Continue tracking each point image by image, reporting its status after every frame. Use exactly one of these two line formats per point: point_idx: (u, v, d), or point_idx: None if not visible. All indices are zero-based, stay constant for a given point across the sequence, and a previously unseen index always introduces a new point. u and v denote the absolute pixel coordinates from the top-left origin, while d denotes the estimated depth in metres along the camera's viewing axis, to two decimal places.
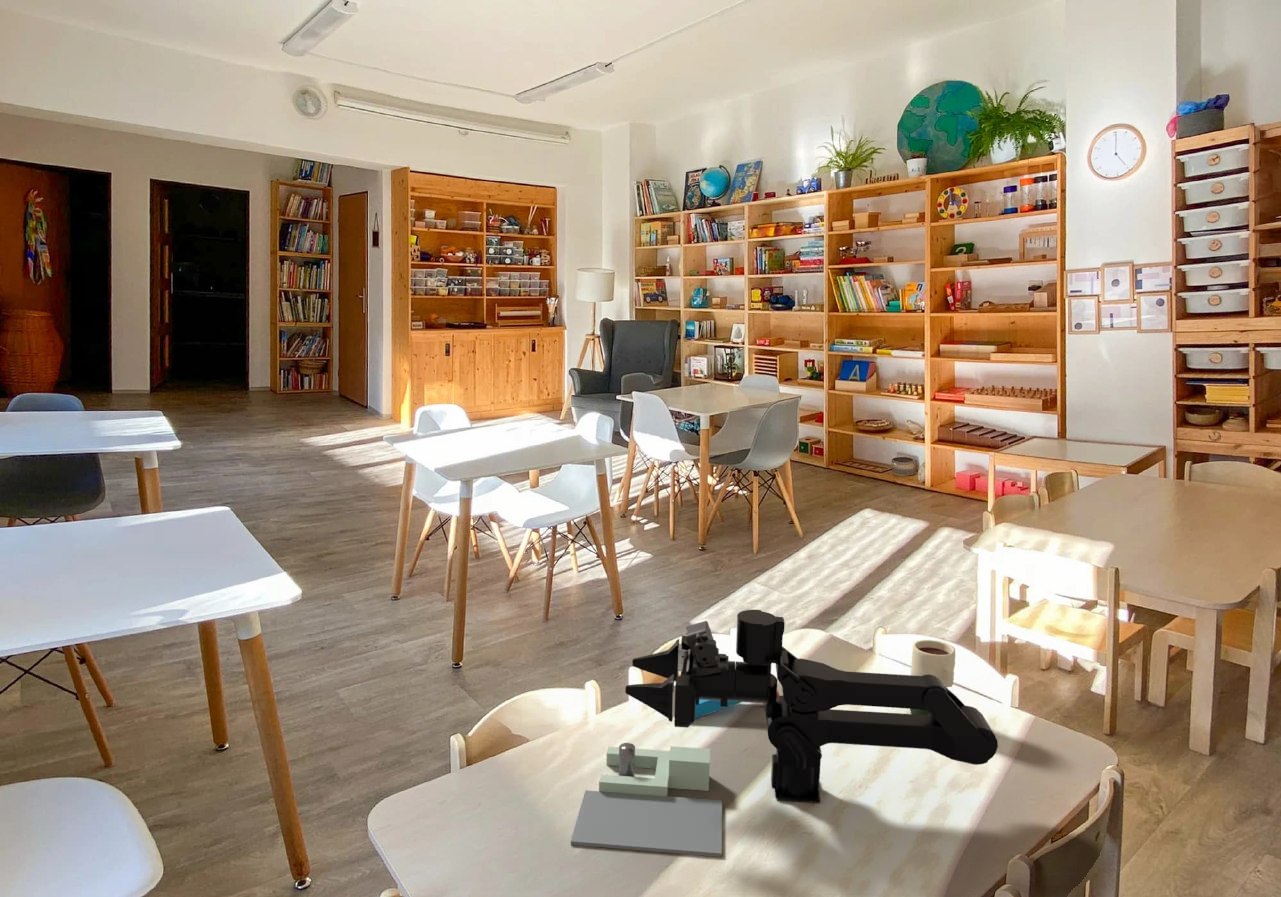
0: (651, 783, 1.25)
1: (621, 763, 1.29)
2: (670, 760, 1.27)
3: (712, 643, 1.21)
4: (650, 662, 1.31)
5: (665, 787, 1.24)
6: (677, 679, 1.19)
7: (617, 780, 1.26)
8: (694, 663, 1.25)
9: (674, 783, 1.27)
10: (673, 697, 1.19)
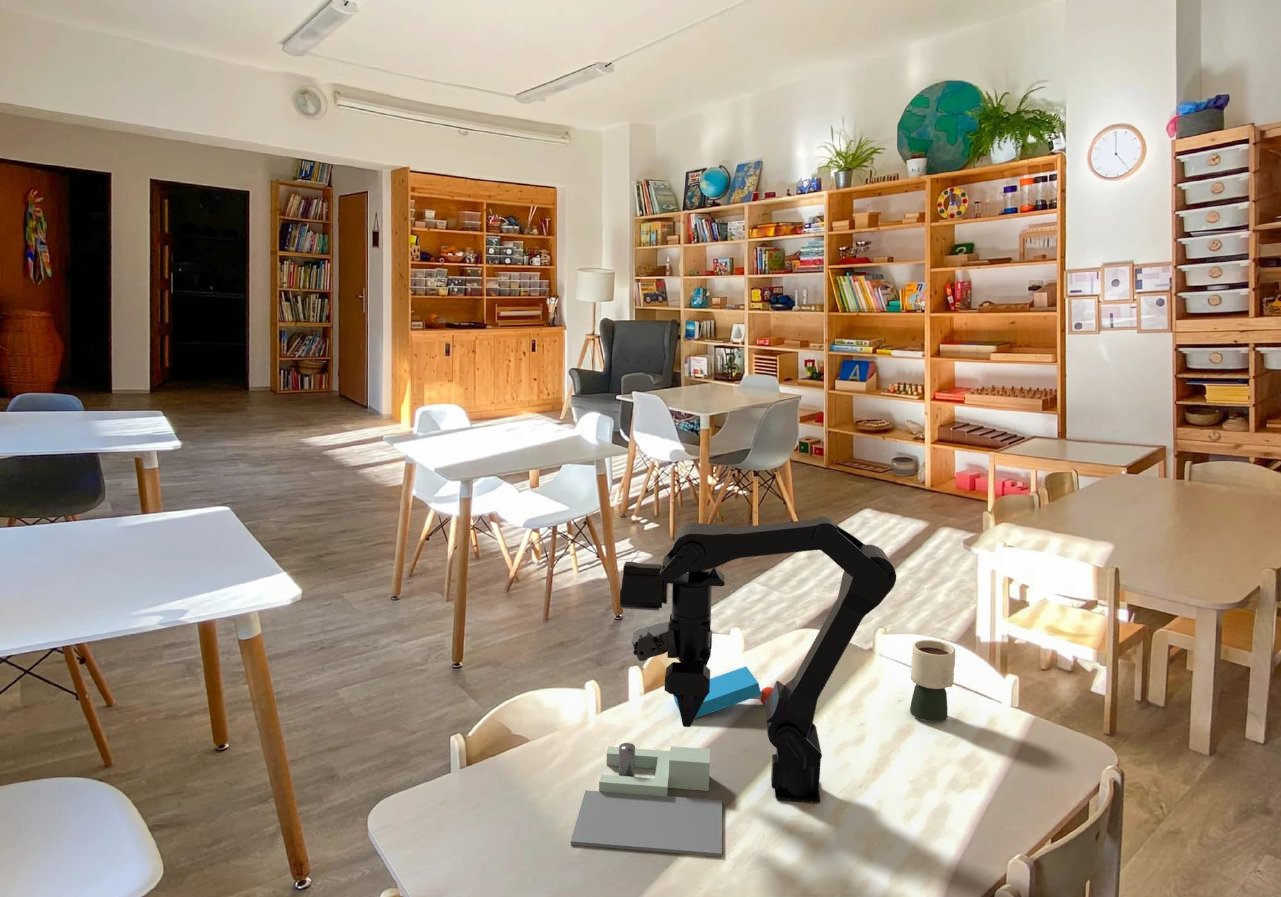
0: (651, 783, 1.25)
1: (621, 763, 1.29)
2: (670, 760, 1.27)
3: (638, 640, 1.22)
4: None
5: (665, 787, 1.24)
6: None
7: (617, 780, 1.26)
8: None
9: (674, 783, 1.27)
10: None
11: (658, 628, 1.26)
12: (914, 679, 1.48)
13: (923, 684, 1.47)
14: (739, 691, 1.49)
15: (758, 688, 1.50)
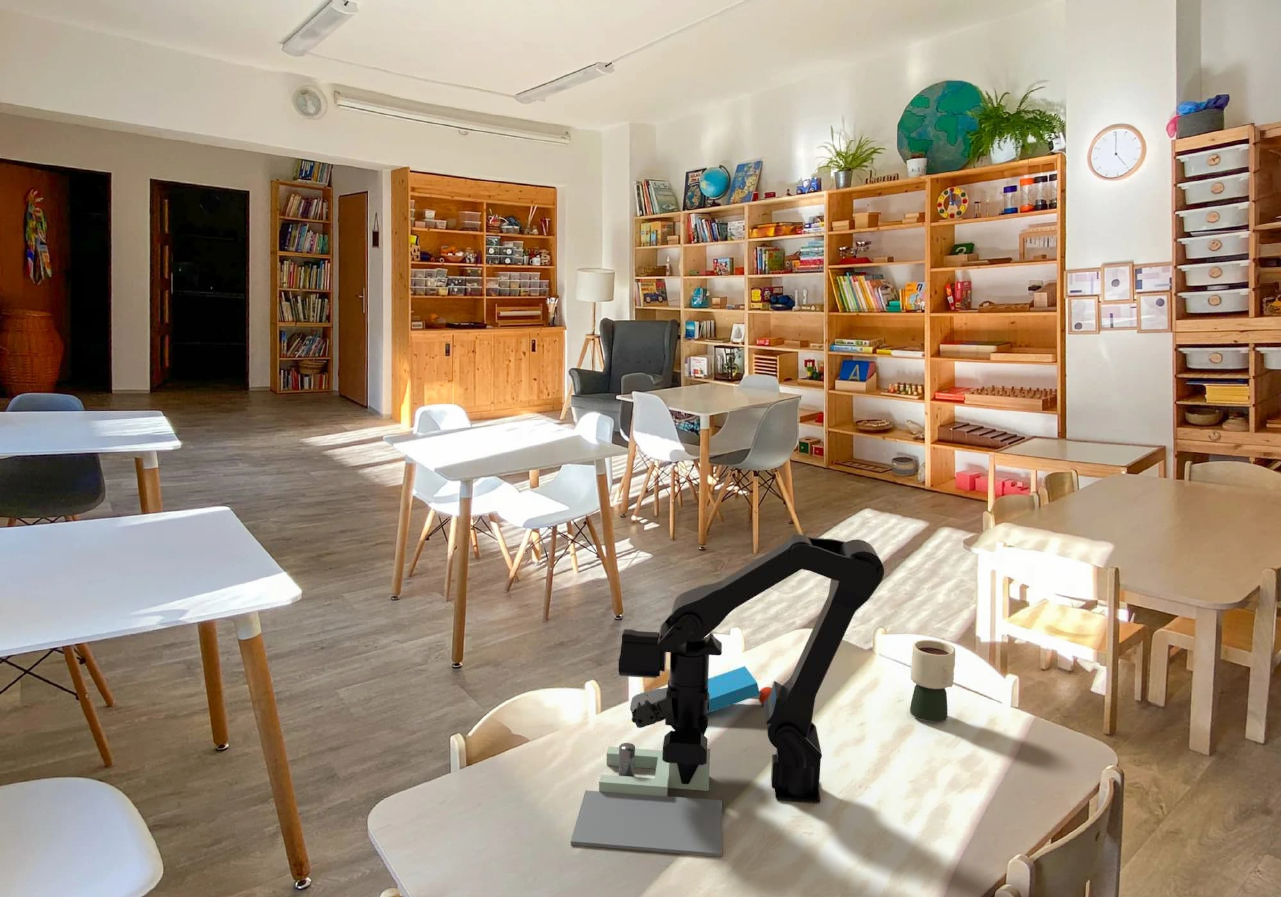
0: (651, 783, 1.25)
1: (621, 763, 1.29)
2: None
3: (636, 709, 1.24)
4: None
5: (665, 787, 1.24)
6: None
7: (617, 780, 1.26)
8: None
9: (674, 783, 1.27)
10: None
11: (656, 694, 1.28)
12: (914, 679, 1.48)
13: (923, 684, 1.47)
14: (738, 691, 1.49)
15: (757, 688, 1.50)
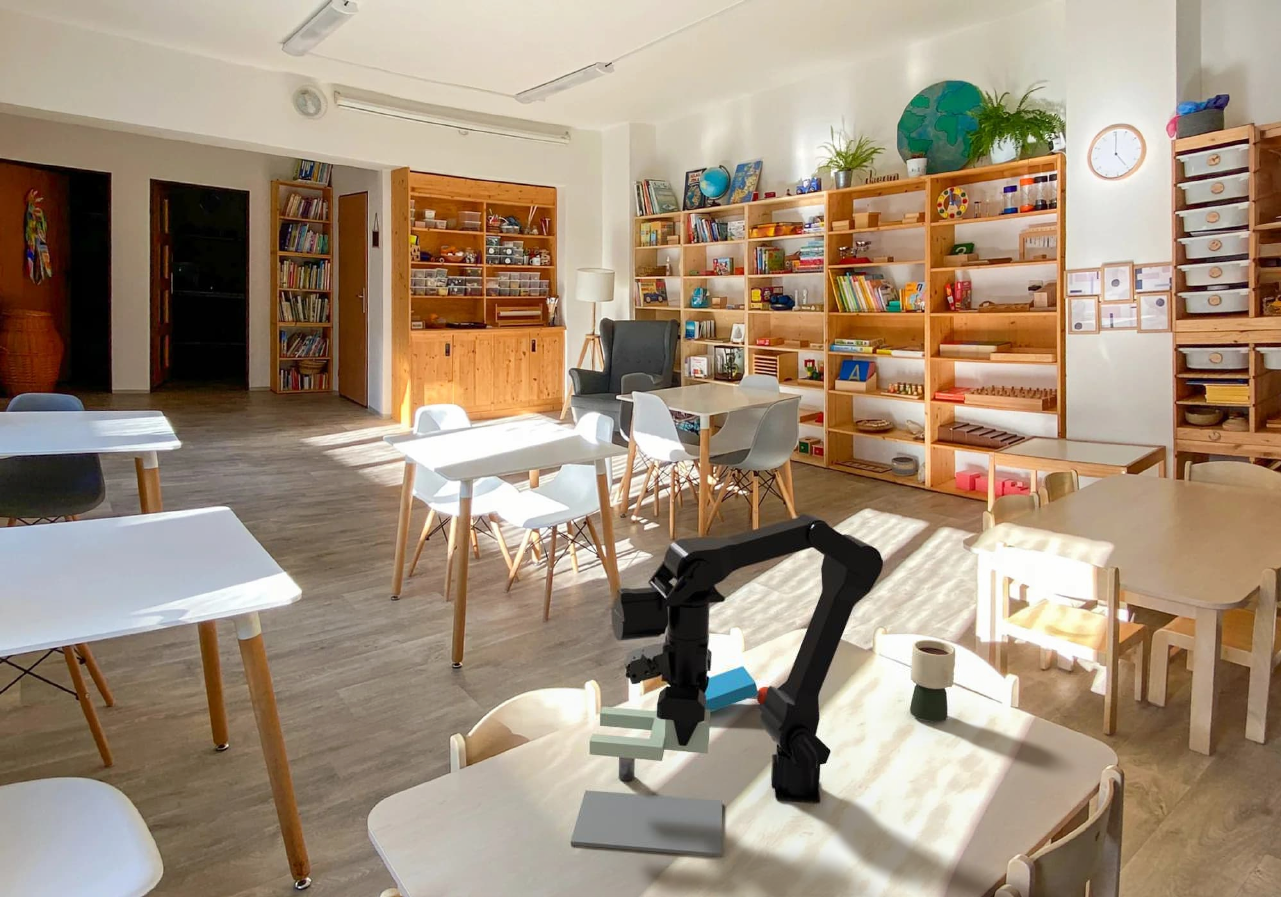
0: (646, 743, 1.17)
1: (621, 763, 1.29)
2: (666, 720, 1.18)
3: (630, 663, 1.15)
4: None
5: (660, 748, 1.16)
6: None
7: (609, 740, 1.17)
8: None
9: (671, 744, 1.19)
10: None
11: (653, 649, 1.19)
12: (914, 679, 1.48)
13: (923, 684, 1.47)
14: (736, 691, 1.49)
15: (755, 688, 1.50)
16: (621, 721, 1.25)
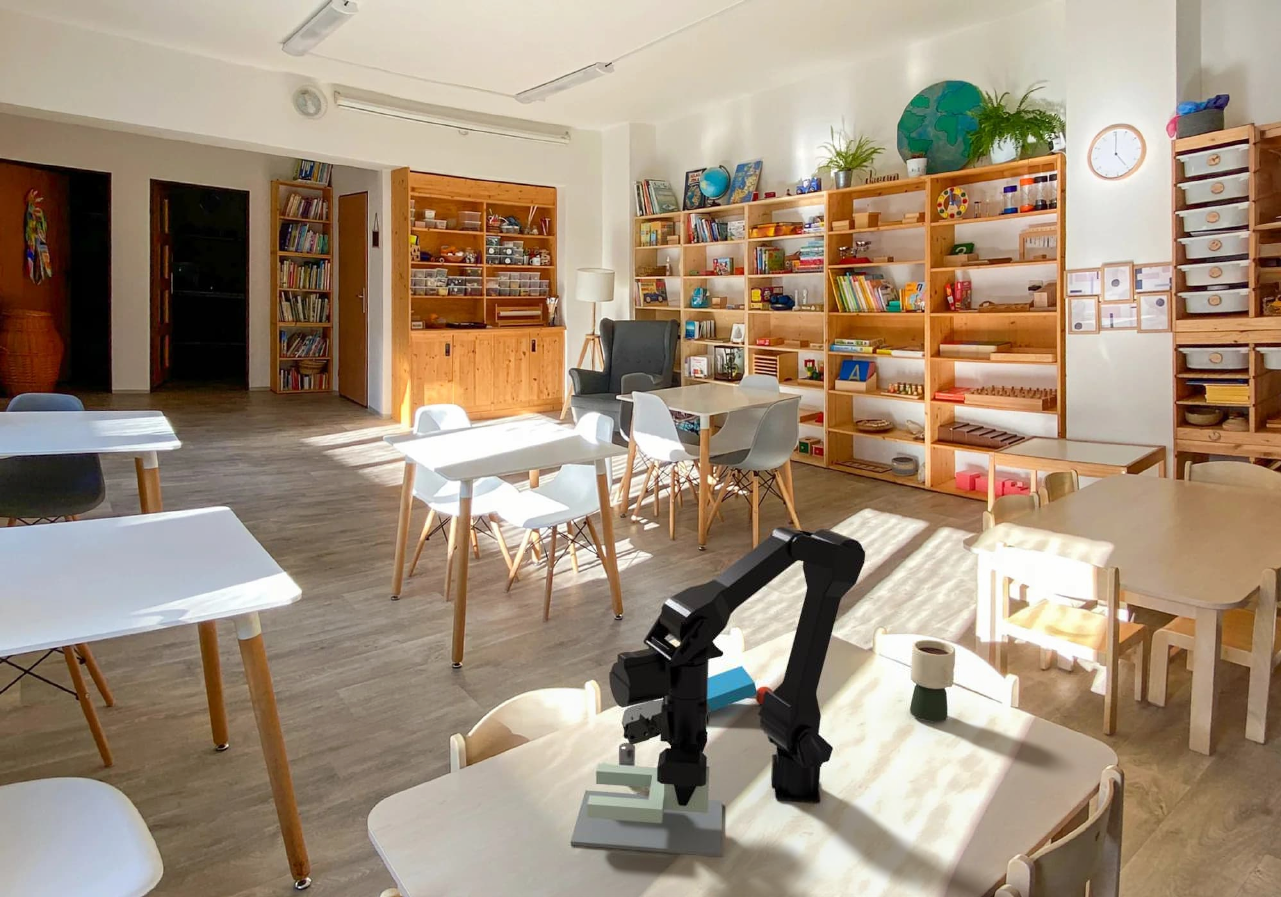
0: (645, 805, 1.14)
1: (621, 763, 1.29)
2: None
3: (628, 724, 1.12)
4: None
5: (660, 810, 1.13)
6: None
7: (607, 802, 1.14)
8: None
9: (670, 804, 1.16)
10: None
11: (650, 707, 1.16)
12: (914, 679, 1.48)
13: (923, 684, 1.47)
14: (735, 691, 1.49)
15: (754, 687, 1.50)
16: (618, 779, 1.22)
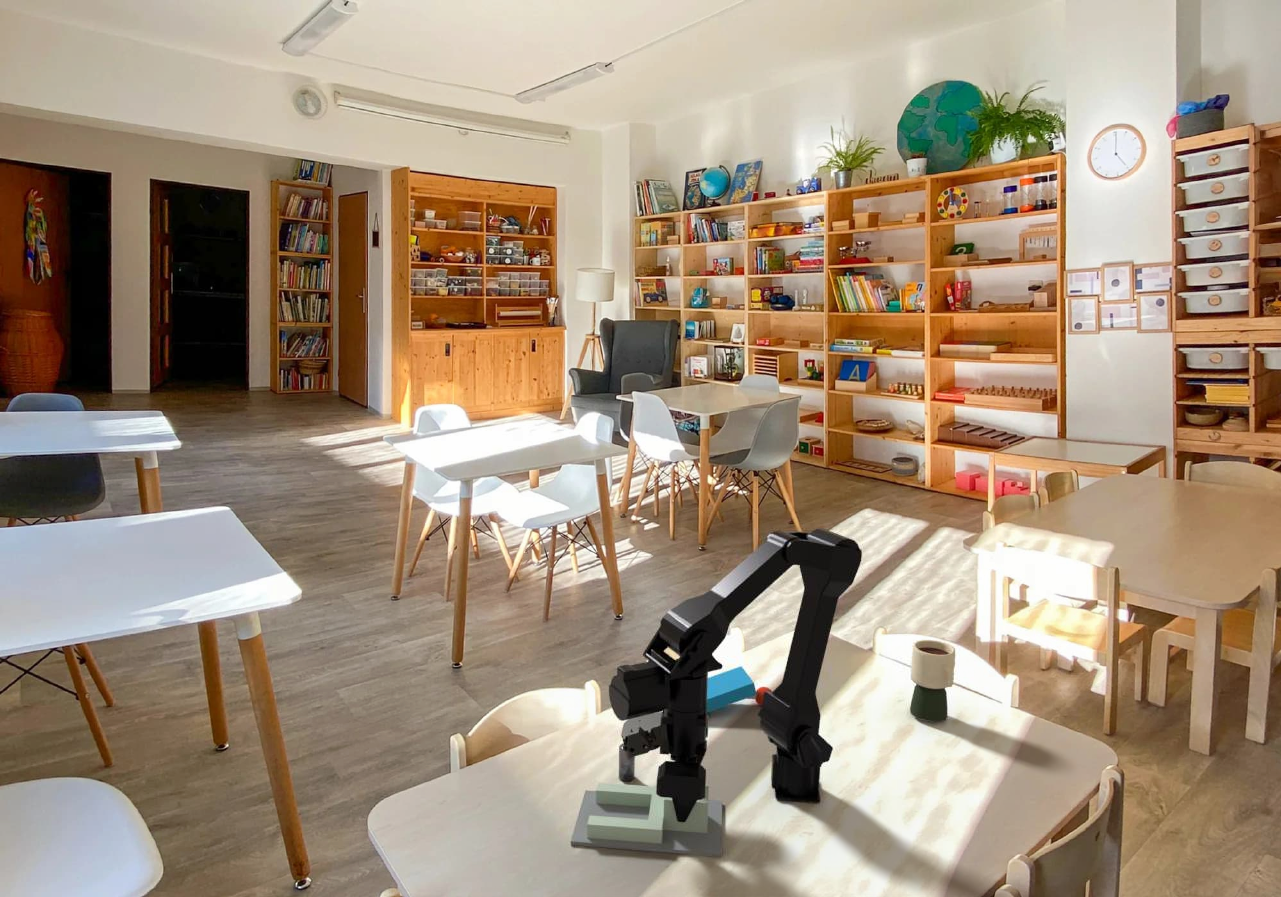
0: (644, 825, 1.14)
1: (621, 763, 1.29)
2: (665, 800, 1.16)
3: (628, 736, 1.13)
4: None
5: (659, 830, 1.13)
6: None
7: (607, 822, 1.15)
8: None
9: (669, 825, 1.16)
10: None
11: (650, 720, 1.17)
12: (914, 679, 1.48)
13: (923, 684, 1.47)
14: (735, 691, 1.49)
15: (753, 688, 1.50)
16: (618, 798, 1.22)
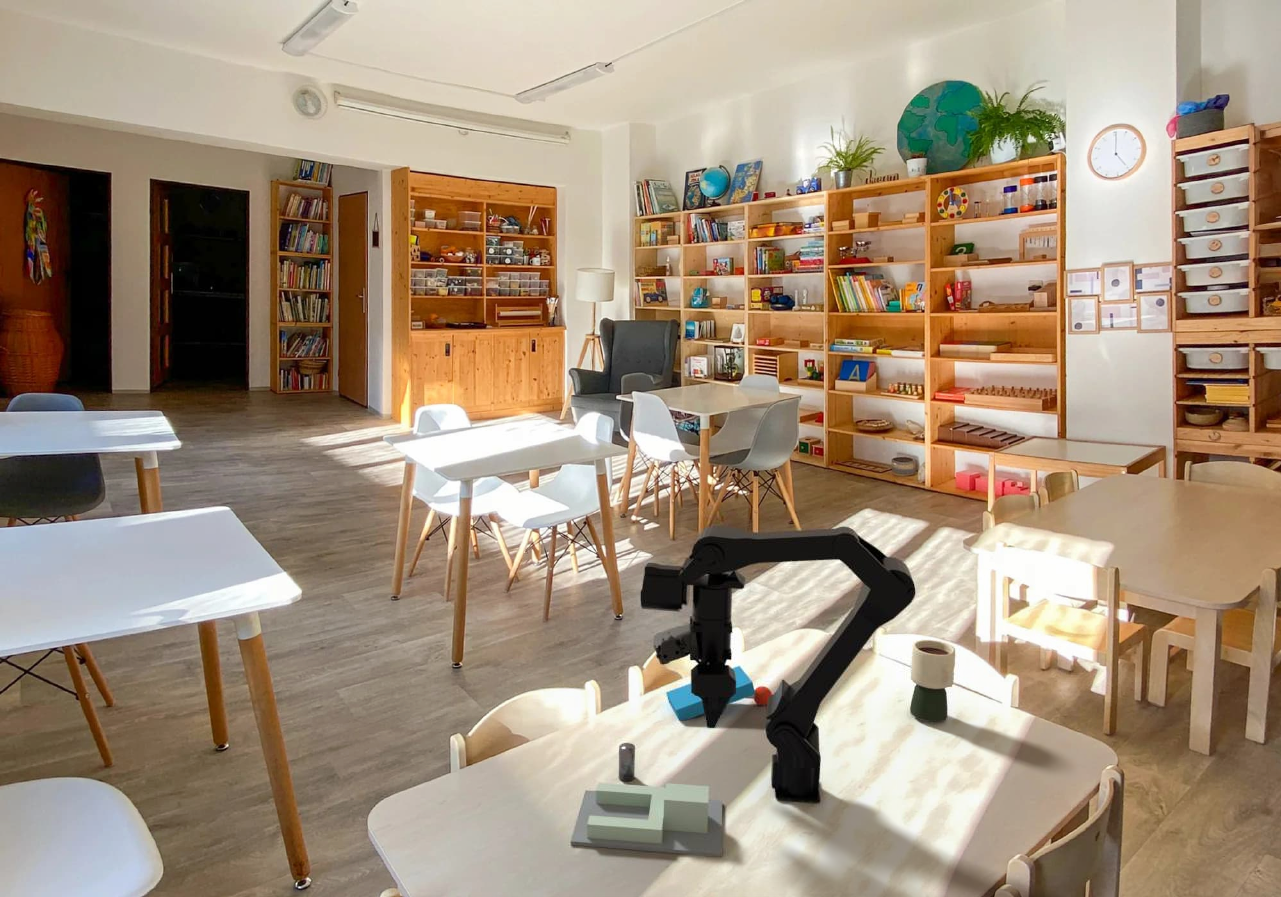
0: (644, 825, 1.14)
1: (621, 763, 1.29)
2: (665, 800, 1.16)
3: (661, 644, 1.22)
4: None
5: (659, 830, 1.13)
6: None
7: (607, 822, 1.15)
8: None
9: (669, 825, 1.16)
10: None
11: (679, 631, 1.26)
12: (914, 679, 1.48)
13: (923, 684, 1.47)
14: None
15: (752, 687, 1.50)
16: (618, 798, 1.22)
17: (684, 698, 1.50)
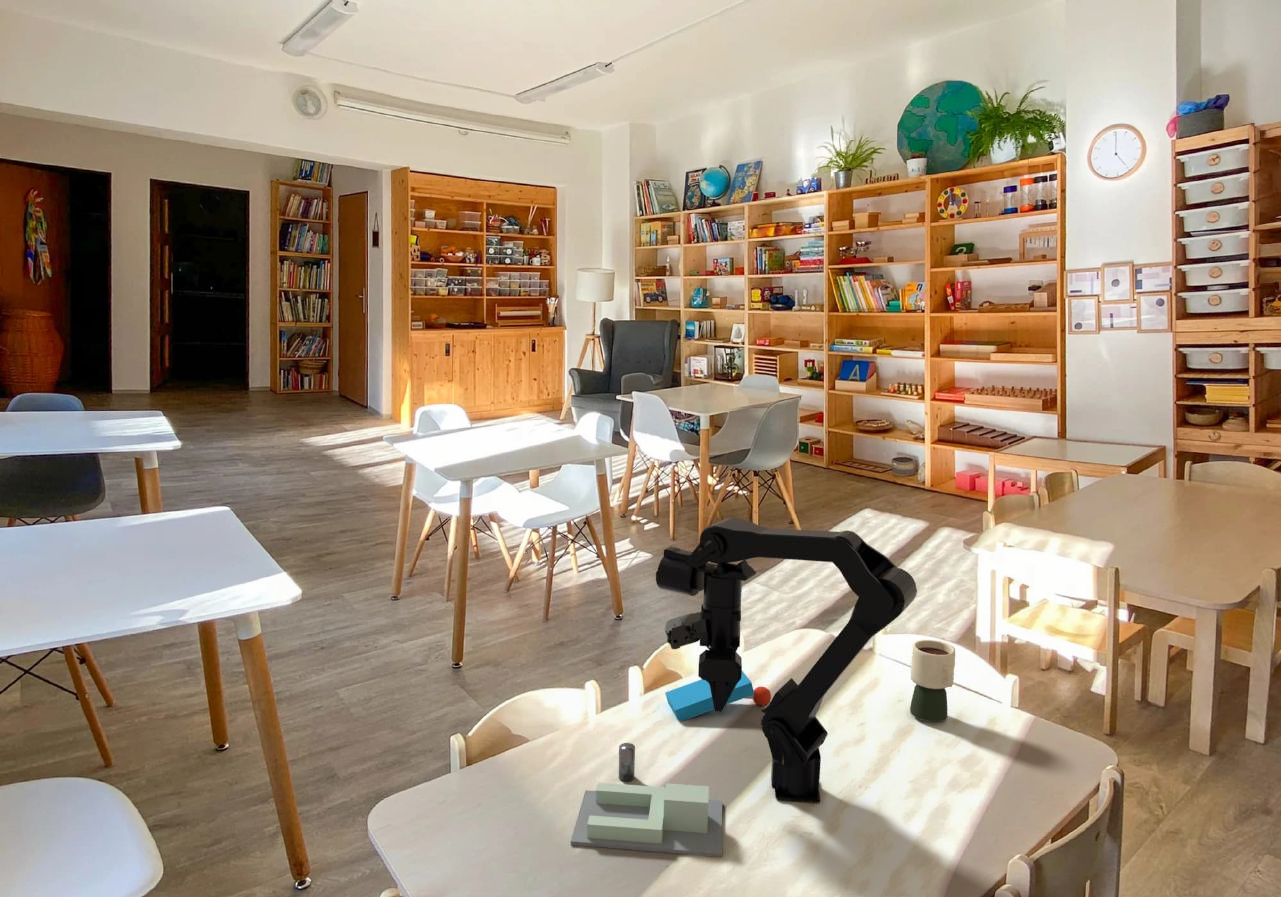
0: (644, 825, 1.14)
1: (621, 763, 1.29)
2: (665, 800, 1.16)
3: (671, 629, 1.28)
4: None
5: (659, 830, 1.13)
6: None
7: (607, 822, 1.15)
8: None
9: (669, 825, 1.16)
10: None
11: (690, 618, 1.31)
12: (914, 679, 1.48)
13: (923, 684, 1.47)
14: (733, 691, 1.49)
15: (751, 687, 1.50)
16: (618, 798, 1.22)
17: (683, 698, 1.50)
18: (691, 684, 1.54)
